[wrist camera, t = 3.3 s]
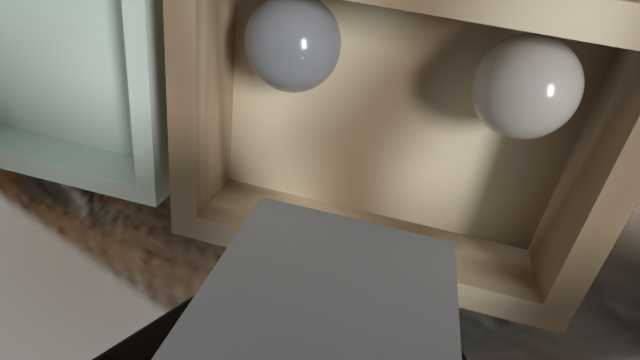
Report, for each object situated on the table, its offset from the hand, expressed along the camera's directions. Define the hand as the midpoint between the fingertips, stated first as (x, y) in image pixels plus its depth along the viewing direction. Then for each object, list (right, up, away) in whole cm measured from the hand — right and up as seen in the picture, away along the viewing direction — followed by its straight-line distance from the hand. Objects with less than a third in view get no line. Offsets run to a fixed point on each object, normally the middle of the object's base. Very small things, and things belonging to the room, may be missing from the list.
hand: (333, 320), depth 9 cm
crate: (+2, +5, +7) cm, 9 cm away
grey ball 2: (+6, +6, +5) cm, 10 cm away
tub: (-10, +8, +9) cm, 16 cm away
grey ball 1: (-1, +8, +6) cm, 10 cm away
